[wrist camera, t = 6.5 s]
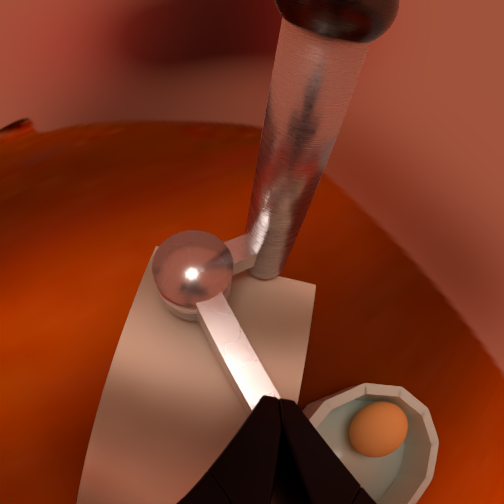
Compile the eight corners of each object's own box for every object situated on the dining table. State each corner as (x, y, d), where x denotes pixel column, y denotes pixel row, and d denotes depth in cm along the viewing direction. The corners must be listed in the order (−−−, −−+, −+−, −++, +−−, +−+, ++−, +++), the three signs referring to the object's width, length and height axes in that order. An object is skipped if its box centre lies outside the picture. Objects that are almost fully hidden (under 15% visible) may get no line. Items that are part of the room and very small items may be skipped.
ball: (427, 426, 13) (401, 383, 14) (396, 467, 11) (366, 423, 12) (387, 434, 16) (363, 396, 17) (355, 469, 14) (327, 429, 15)
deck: (241, 562, 11) (247, 590, 7) (96, 521, 11) (71, 539, 7) (298, 309, 20) (316, 285, 17) (165, 277, 20) (155, 245, 17)
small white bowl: (419, 478, 14) (450, 482, 11) (299, 540, 12) (316, 561, 9) (382, 370, 18) (409, 359, 15) (254, 421, 16) (262, 423, 13)
